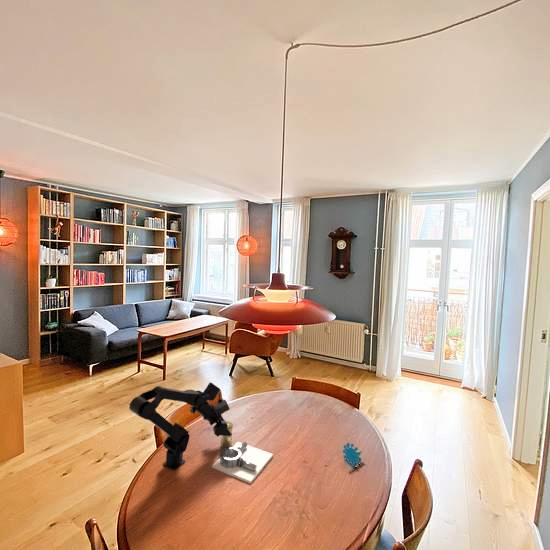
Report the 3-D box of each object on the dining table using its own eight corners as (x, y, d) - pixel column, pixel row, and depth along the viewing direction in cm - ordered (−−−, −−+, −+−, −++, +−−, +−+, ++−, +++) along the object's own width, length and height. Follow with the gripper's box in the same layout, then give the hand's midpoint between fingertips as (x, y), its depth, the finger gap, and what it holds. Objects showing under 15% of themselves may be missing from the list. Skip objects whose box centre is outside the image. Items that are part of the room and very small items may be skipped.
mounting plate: (250, 483, 123) (250, 481, 123) (212, 467, 131) (212, 465, 131) (273, 456, 141) (273, 454, 141) (237, 443, 149) (237, 441, 149)
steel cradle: (249, 478, 126) (250, 468, 125) (215, 464, 133) (216, 455, 132) (268, 456, 140) (268, 447, 140) (236, 444, 147) (237, 436, 147)
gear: (349, 469, 134) (341, 443, 140) (341, 473, 137) (333, 447, 143) (367, 465, 140) (358, 440, 146) (358, 469, 143) (350, 445, 149)
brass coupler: (227, 449, 144) (228, 428, 144) (218, 446, 146) (219, 425, 146) (233, 444, 149) (234, 423, 148) (224, 440, 151) (225, 420, 150)
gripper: (224, 405, 136) (247, 426, 141) (214, 388, 153) (235, 407, 158) (204, 426, 133) (228, 446, 138) (197, 406, 151) (219, 425, 155)
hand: (228, 430), depth 148 cm, fingers open, 9 cm apart
